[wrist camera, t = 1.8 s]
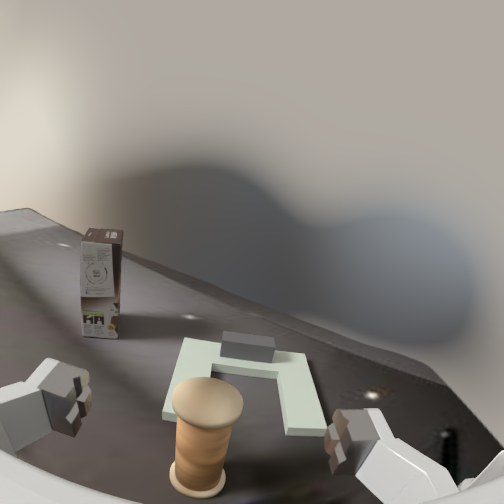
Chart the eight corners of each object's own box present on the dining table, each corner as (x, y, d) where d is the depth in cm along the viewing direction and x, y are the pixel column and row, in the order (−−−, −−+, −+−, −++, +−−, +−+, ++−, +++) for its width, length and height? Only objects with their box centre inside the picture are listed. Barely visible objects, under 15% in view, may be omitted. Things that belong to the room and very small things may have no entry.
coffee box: (119, 339, 48) (121, 243, 44) (81, 337, 46) (79, 240, 42) (120, 313, 56) (124, 229, 52) (87, 311, 54) (88, 226, 50)
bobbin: (225, 462, 29) (243, 382, 26) (223, 502, 24) (243, 427, 21) (173, 454, 29) (178, 371, 26) (166, 493, 24) (166, 415, 21)
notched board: (302, 361, 53) (308, 338, 52) (323, 436, 35) (335, 411, 34) (183, 344, 51) (186, 321, 50) (162, 419, 34) (162, 392, 33)
